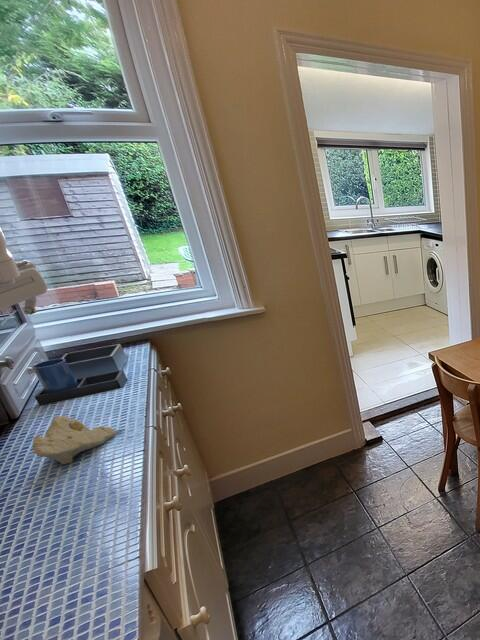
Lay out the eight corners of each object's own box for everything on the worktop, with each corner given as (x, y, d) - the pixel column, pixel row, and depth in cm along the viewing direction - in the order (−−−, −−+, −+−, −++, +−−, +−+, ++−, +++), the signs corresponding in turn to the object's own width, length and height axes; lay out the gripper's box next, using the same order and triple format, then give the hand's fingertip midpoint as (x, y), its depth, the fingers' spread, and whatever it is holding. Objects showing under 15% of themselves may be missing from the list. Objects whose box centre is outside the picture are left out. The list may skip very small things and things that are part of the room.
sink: (61, 384, 131) (51, 367, 128) (74, 369, 142) (65, 353, 139) (120, 372, 138) (112, 355, 135) (127, 359, 149) (120, 343, 146)
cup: (48, 404, 118) (28, 370, 113) (55, 395, 123) (36, 362, 118) (79, 397, 121) (61, 363, 117) (85, 389, 126) (68, 356, 122)
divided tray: (40, 407, 116) (34, 396, 115) (51, 395, 123) (45, 385, 122) (122, 390, 125) (117, 379, 123) (127, 379, 132) (122, 369, 131)
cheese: (94, 442, 102) (6, 435, 89) (111, 418, 102) (26, 407, 89) (112, 481, 95) (19, 480, 82) (130, 456, 95) (40, 450, 82)
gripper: (17, 255, 109) (37, 303, 116) (-73, 281, 92) (-44, 335, 98) (44, 260, 110) (62, 307, 117) (-40, 285, 93) (-13, 339, 99)
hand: (13, 320), depth 108 cm, fingers open, 8 cm apart
